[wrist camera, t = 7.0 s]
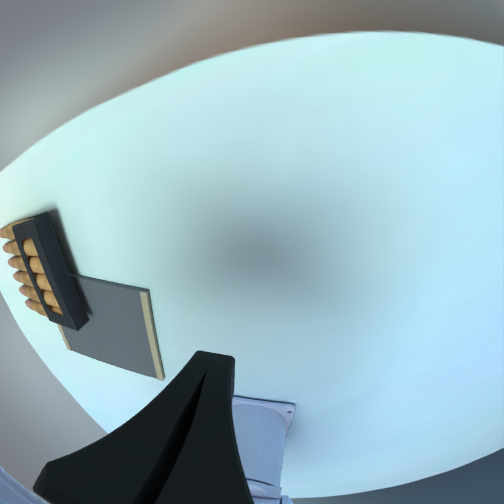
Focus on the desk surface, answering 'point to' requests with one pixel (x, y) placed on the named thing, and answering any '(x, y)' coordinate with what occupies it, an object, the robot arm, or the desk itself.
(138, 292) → the mat
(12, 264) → the ammunition clip
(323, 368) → the desk surface
